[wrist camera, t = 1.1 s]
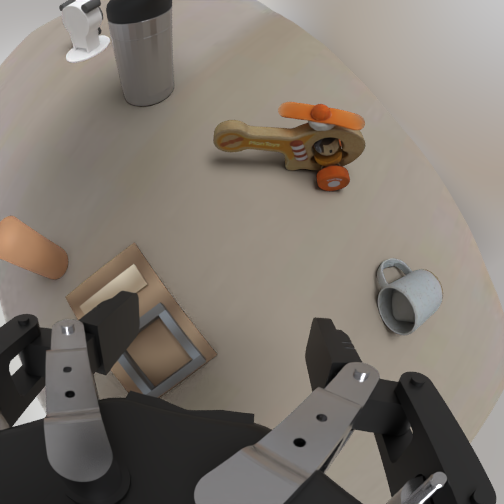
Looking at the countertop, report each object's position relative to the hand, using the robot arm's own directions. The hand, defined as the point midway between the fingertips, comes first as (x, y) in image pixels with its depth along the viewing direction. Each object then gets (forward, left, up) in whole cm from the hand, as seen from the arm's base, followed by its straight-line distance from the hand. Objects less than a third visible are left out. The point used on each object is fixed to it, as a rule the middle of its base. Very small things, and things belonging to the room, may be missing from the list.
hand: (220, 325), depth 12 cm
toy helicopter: (-11, +23, -22) cm, 34 cm away
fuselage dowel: (-19, -13, -22) cm, 32 cm away
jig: (-5, -8, -22) cm, 24 cm away
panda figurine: (-65, +10, -22) cm, 70 cm away
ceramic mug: (+14, +23, -22) cm, 35 cm away
